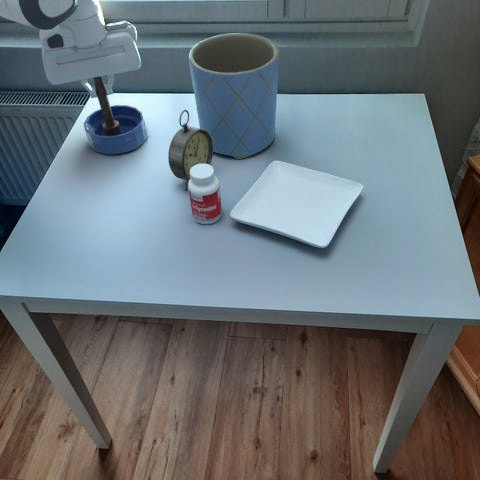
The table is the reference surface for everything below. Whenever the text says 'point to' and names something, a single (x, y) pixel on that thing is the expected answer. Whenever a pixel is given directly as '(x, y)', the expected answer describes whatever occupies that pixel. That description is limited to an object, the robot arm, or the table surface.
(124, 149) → the bowl
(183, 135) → the alarm clock
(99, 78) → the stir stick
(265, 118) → the planter
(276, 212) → the salad plate
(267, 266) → the table surface
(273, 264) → the table surface
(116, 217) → the table surface
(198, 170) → the pill bottle
